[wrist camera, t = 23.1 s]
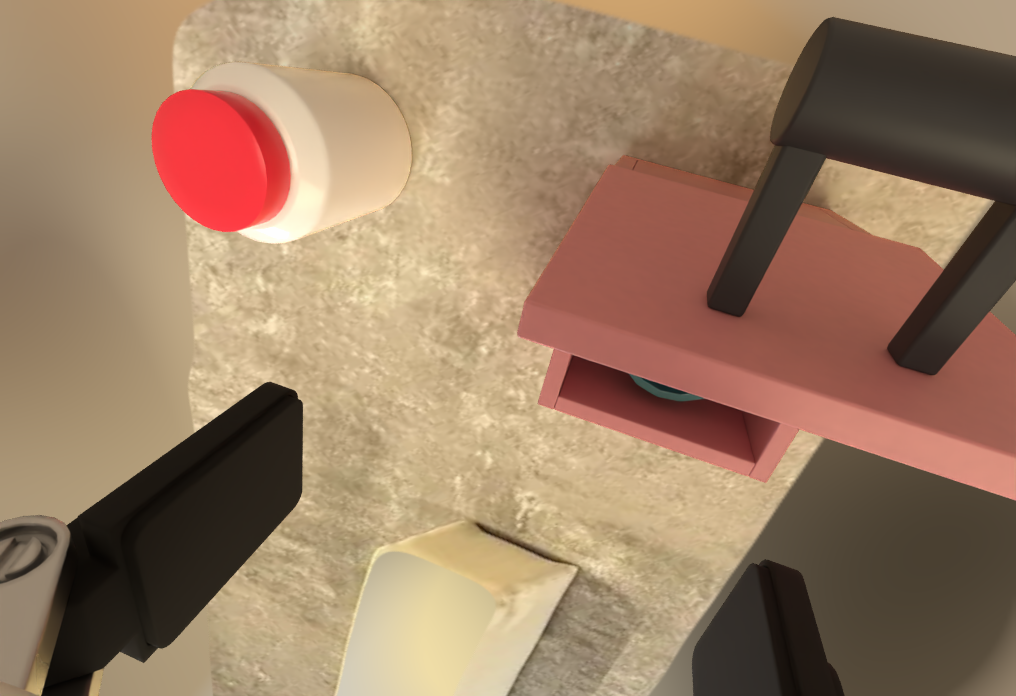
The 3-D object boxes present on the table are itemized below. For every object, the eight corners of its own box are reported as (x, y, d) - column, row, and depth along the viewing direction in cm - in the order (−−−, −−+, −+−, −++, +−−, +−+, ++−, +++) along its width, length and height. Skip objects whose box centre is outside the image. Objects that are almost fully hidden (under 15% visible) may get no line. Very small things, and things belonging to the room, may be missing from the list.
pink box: (740, 387, 30) (766, 483, 22) (567, 332, 31) (537, 404, 24) (832, 210, 25) (907, 255, 17) (622, 154, 26) (606, 173, 19)
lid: (1173, 554, 8) (1744, 193, 5) (515, 337, 9) (606, -47, 6) (906, 269, 17) (1033, 87, 14) (602, 185, 19) (655, 4, 15)
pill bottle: (406, 226, 31) (293, 278, 22) (295, 196, 33) (142, 233, 23) (418, 88, 28) (290, 77, 18) (294, 60, 29) (111, 37, 19)
